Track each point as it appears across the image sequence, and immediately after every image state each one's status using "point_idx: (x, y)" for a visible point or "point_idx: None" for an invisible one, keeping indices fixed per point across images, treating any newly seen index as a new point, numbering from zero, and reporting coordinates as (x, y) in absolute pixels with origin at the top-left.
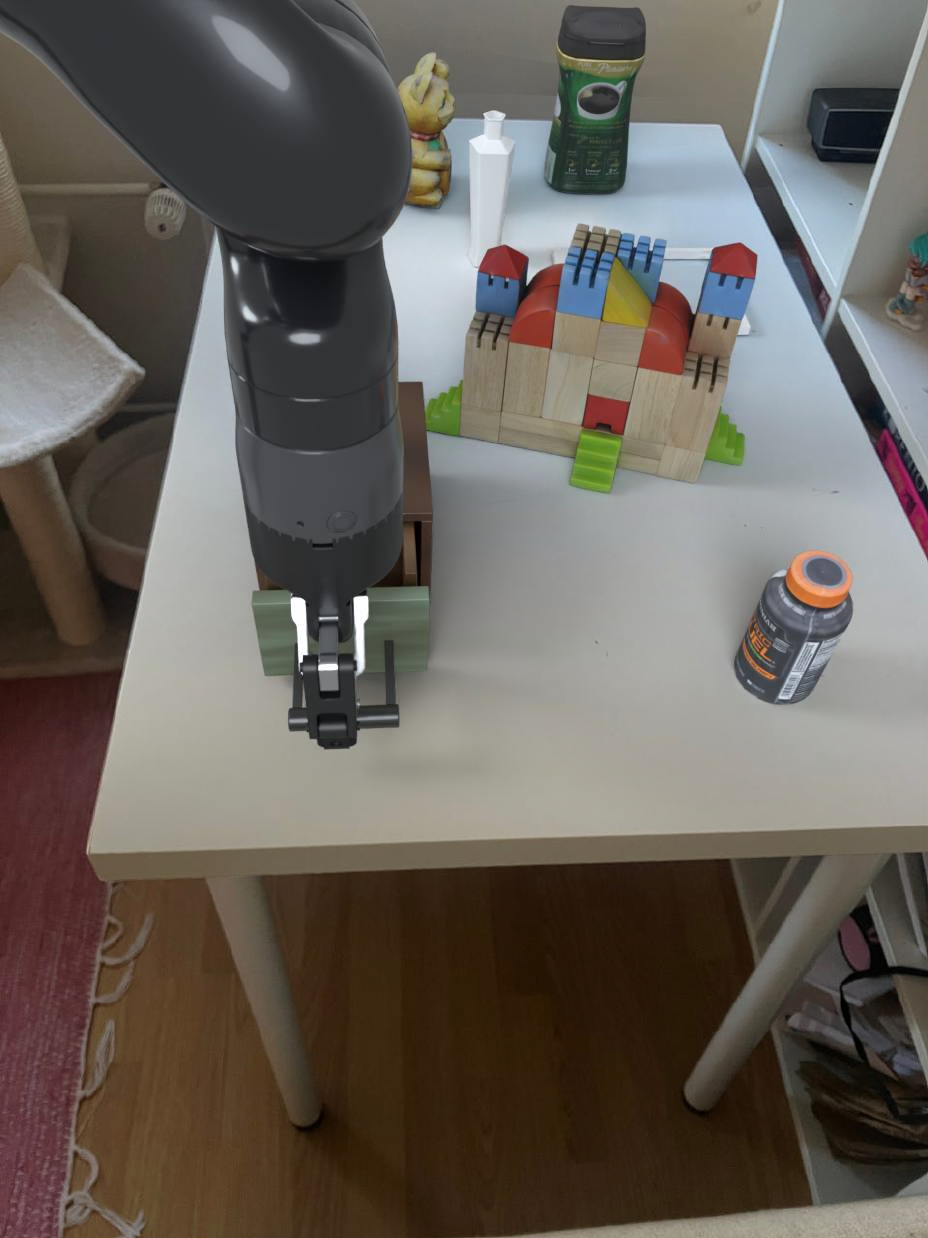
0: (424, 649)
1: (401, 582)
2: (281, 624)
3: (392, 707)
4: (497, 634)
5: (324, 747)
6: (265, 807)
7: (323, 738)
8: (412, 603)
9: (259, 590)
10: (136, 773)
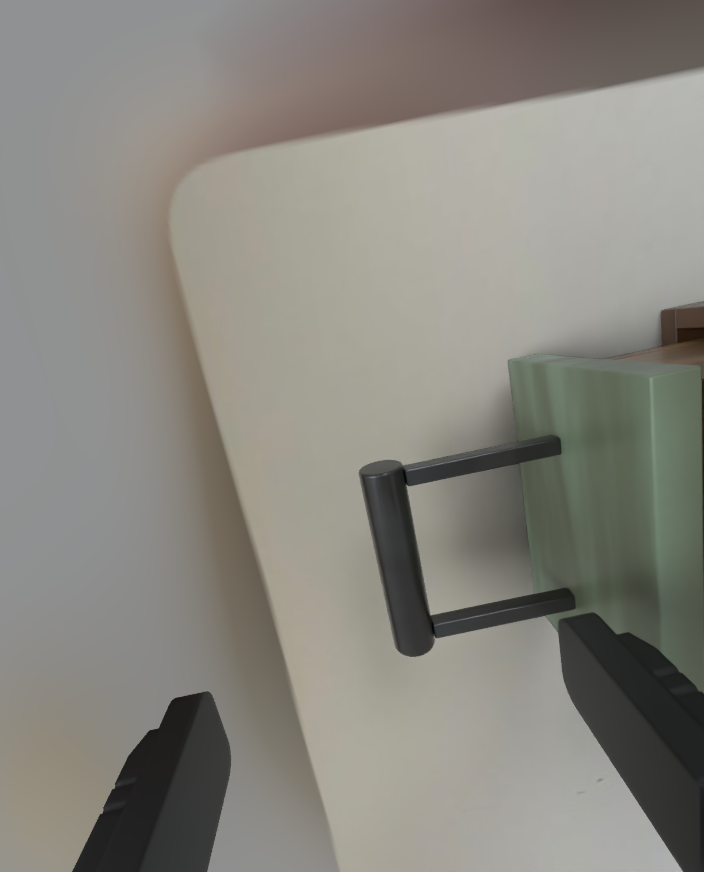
0: None
1: None
2: (596, 430)
3: (421, 645)
4: None
5: (129, 758)
6: (275, 416)
7: (105, 808)
8: None
9: (702, 306)
10: (296, 185)
